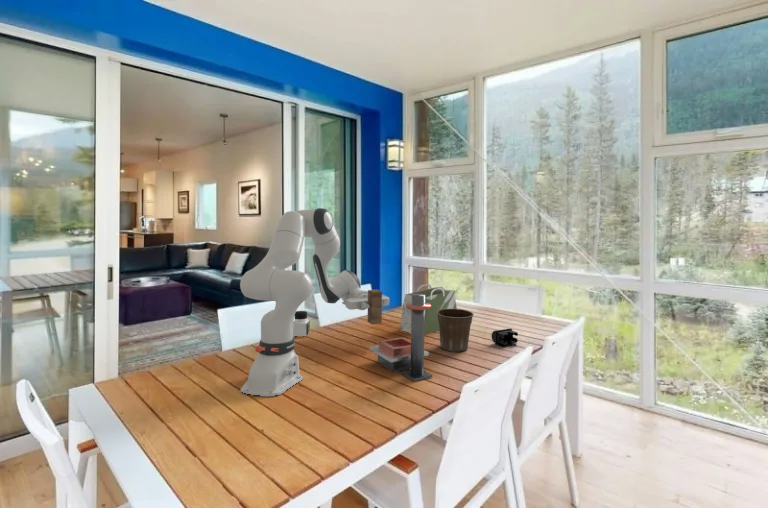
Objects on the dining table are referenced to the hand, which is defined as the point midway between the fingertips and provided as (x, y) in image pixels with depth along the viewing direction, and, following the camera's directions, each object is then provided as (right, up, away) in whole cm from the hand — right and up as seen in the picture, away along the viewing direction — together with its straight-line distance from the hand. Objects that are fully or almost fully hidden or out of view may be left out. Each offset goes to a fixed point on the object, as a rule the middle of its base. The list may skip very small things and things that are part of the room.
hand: (375, 305), depth 173 cm
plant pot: (+35, -20, +7) cm, 41 cm away
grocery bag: (+28, -17, +39) cm, 51 cm away
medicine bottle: (-37, -18, +24) cm, 47 cm away
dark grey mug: (+60, -20, +13) cm, 64 cm away
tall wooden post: (-1, -7, +1) cm, 8 cm away
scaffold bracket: (+11, -22, -19) cm, 31 cm away
